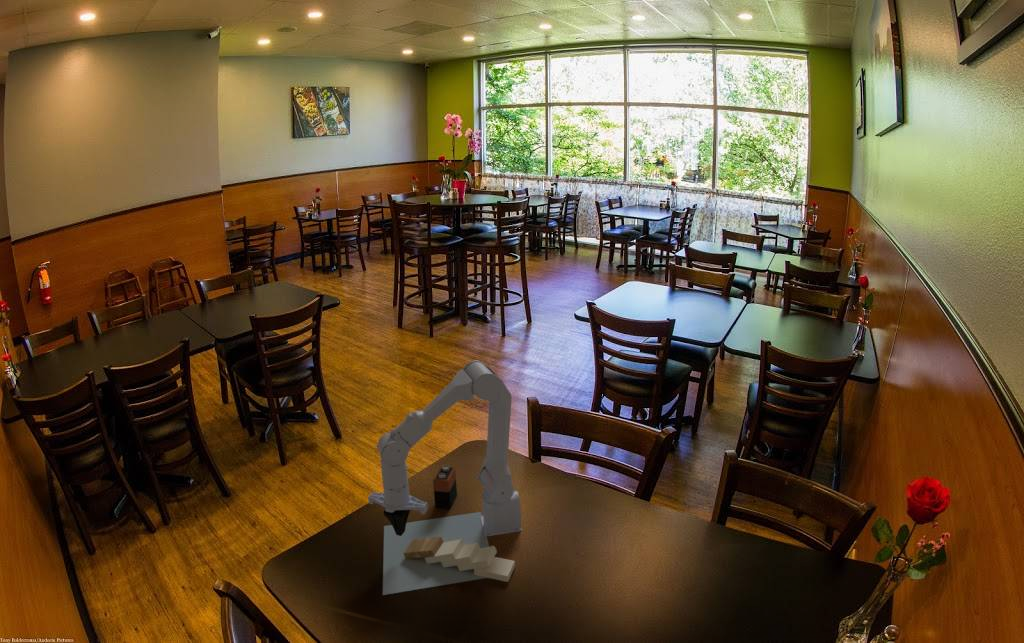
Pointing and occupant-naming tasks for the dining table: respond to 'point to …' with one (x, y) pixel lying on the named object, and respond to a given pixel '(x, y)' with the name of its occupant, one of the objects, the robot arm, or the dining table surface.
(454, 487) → the battery
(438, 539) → the oak domino
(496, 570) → the domino
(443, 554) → the domino
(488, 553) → the domino
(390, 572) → the mat
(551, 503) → the dining table surface
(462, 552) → the domino
